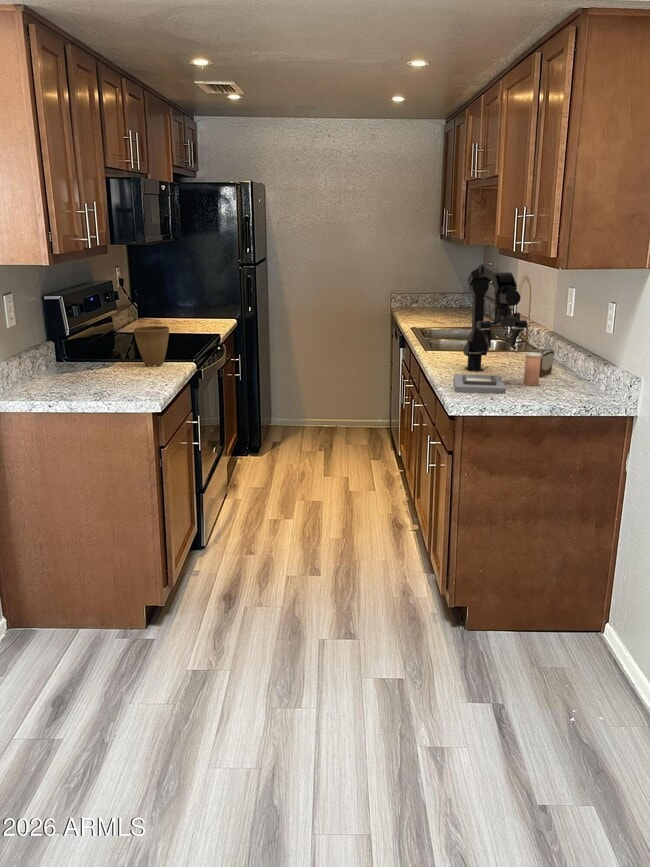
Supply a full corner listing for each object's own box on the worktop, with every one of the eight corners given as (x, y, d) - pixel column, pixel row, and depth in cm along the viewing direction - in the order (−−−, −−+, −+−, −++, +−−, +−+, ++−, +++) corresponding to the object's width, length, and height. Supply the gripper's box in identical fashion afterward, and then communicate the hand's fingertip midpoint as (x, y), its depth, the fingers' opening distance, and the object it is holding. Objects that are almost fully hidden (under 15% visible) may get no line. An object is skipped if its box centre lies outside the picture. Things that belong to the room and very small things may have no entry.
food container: (538, 371, 312) (540, 347, 309) (552, 373, 308) (554, 349, 305) (525, 375, 303) (527, 351, 300) (540, 378, 299) (542, 353, 296)
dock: (453, 378, 297) (454, 370, 296) (499, 379, 295) (500, 372, 294) (455, 391, 275) (455, 383, 274) (505, 393, 272) (506, 385, 271)
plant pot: (168, 361, 330) (166, 325, 326) (173, 367, 317) (171, 329, 312) (134, 362, 326) (131, 326, 321) (137, 369, 312) (134, 331, 308)
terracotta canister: (521, 382, 290) (523, 352, 287) (535, 382, 290) (538, 352, 287) (526, 386, 284) (528, 355, 281) (540, 386, 285) (543, 355, 282)
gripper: (486, 306, 273) (485, 349, 276) (534, 305, 276) (533, 347, 279) (475, 306, 284) (474, 347, 287) (522, 305, 287) (520, 346, 289)
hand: (501, 347), depth 285 cm, fingers open, 9 cm apart
